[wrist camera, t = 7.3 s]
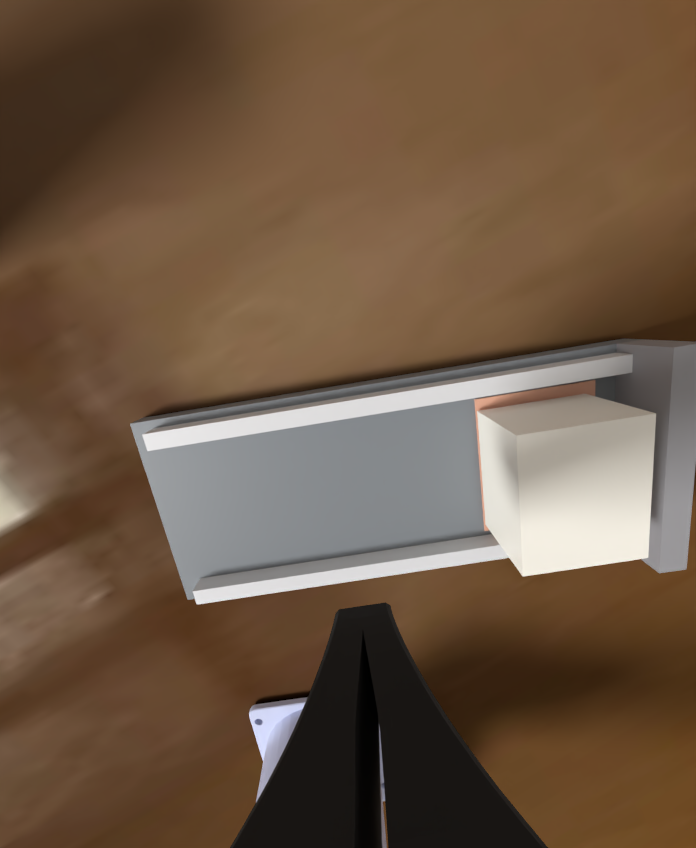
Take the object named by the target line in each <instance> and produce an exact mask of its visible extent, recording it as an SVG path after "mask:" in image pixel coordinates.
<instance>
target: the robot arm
mask: <svg viewBox="0 0 696 848" xmlns="http://www.w3.org/2000/svg"><path fill="white" fill-rule="evenodd" d="M249 717H250V720H251V724H252V727H253V730H254V733H255V737H256V740H257V743H258V746H259V750H260V753H261V756H262V759H263V766H262V772H261V777H260V783H259V788H258V794H257V799H256V804H255V806H254V807H253V809H252V811H251V813H250V814H249V816H248V818H247V820H246V822H245V823H244V825H243V827H242V829H241V830H240V832H239V834H238V835H237V837H236V839H235V840H234V842H233V844H232V845H231V847H230V848H387V847H386V835H385V823H384V812H383V801H385V803H386V818H387V832H388V846H389V848H548V847H547V846H546V845H545V844H544V843H543V841H542V840H541V839H540V838H539V837H538V835H537V834H536V833H535V832H534V830H533V829H532V828H531V827H530V826H529V824H528V823H527V822H526V821H525V820H524V818H523V817H522V816H521V815H520V813H519V812H518V811H517V810H516V809H515V807H514V806H513V805H512V804H511V803H510V801H509V800H508V799H507V798H506V796H505V795H504V794H503V793H502V792H501V790H500V789H499V788H498V786H497V785H496V784H495V782H494V781H493V780H492V778H491V777H490V776H489V774H488V773H487V772H486V771H485V769H484V768H483V767H482V765H481V764H480V763H479V761H478V760H477V759H476V757H475V756H474V754H473V753H472V752H471V750H470V749H469V747H468V746H467V745H466V743H465V742H464V740H463V739H462V738H461V736H460V735H459V733H458V732H457V730H456V729H455V727H454V726H453V725H452V723H451V722H450V720H449V719H448V717H447V716H446V714H445V712H444V711H443V709H442V708H441V706H440V705H439V703H438V701H437V700H436V698H435V697H434V695H433V694H432V692H431V690H430V689H429V687H428V685H427V684H426V682H425V680H424V678H423V677H422V675H421V673H420V671H419V669H418V668H417V666H416V664H415V662H414V660H413V659H412V657H411V655H410V653H409V651H408V649H407V647H406V645H405V643H404V641H403V639H402V637H401V634H400V632H399V630H398V627H397V625H396V623H395V620H394V617H393V614H392V611H391V606H390V605H388V604H387V603H380V604H373V605H366V606H360V607H353V608H346V609H339V610H338V612H337V613H336V614H335V619H334V623H333V627H332V631H331V634H330V638H329V641H328V644H327V647H326V650H325V653H324V656H323V659H322V662H321V664H320V667H319V670H318V672H317V675H316V678H315V680H314V683H313V686H312V688H311V691H310V693H309V696H308V697H304V698H297V699H290V700H283V701H276V702H269V703H262V704H256V705H253V706H252V707H251V709H250V713H249Z"/></svg>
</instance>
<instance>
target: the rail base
mask: <svg viewBox="0 0 696 848" xmlns="http://www.w3.org/2000/svg"><path fill="white" fill-rule="evenodd" d="M579 394H588V395H592V396H595V397H599V398H603V399H606V400H610V401H613V402H617V403H621V404H624V405H628V406H631V407H635V408H639V409H642V410H646V411H649V412H653V413H656V426H655V444H654V462H653V480H652V498H651V516H650V534H649V552H648V558H644V559H642V560H643V561H644V562H645V563H647V564H648V565H649V566H650V567H652V568H653V569H654V570H656V571H657V572H658V573H664V572H671V571H678V570H685V569H686V568H687V557H688V545H689V534H690V522H691V511H692V500H693V488H694V477H695V465H696V342H690V341H668V340H645V339H618V340H612V341H606V342H599V343H593V344H587V345H581V346H575V347H569V348H563V349H557V350H551V351H545V352H539V353H533V354H527V355H521V356H515V357H508V358H502V359H496V360H490V361H484V362H478V363H472V364H466V365H460V366H454V367H448V368H442V369H436V370H430V371H424V372H418V373H411V374H405V375H399V376H393V377H387V378H381V379H375V380H369V381H363V382H357V383H351V384H345V385H339V386H333V387H327V388H320V389H314V390H308V391H302V392H296V393H290V394H284V395H278V396H272V397H266V398H260V399H254V400H248V401H242V402H236V403H230V404H223V405H217V406H211V407H205V408H199V409H193V410H187V411H181V412H175V413H169V414H163V415H157V416H151V417H145V418H142V419H139V420H137V421H135V422H133V423H131V424H130V425H131V428H132V431H133V435H134V438H135V441H136V444H137V447H138V450H139V453H140V456H141V459H142V462H143V465H144V468H145V471H146V474H147V477H148V480H149V483H150V486H151V489H152V492H153V495H154V498H155V501H156V504H157V508H158V511H159V514H160V517H161V520H162V523H163V526H164V529H165V532H166V535H167V538H168V541H169V544H170V547H171V550H172V553H173V556H174V559H175V562H176V565H177V568H178V571H179V574H180V577H181V581H182V584H183V587H184V590H185V593H186V596H187V599H188V600H190V599H195V600H196V603H197V604H204V603H210V602H217V601H224V600H230V599H237V598H244V597H250V596H257V595H264V594H270V593H277V592H284V591H290V590H297V589H304V588H310V587H317V586H324V585H330V584H337V583H344V582H350V581H357V580H364V579H370V578H377V577H384V576H391V575H397V574H404V573H411V572H417V571H424V570H431V569H437V568H444V567H451V566H457V565H464V564H471V563H477V562H484V561H491V560H497V559H504V558H509V557H508V555H507V554H506V552H505V551H504V550H503V548H502V547H501V545H500V544H499V543H498V541H497V540H496V539H495V537H494V536H493V534H492V533H491V532H490V530H489V529H488V527H487V526H486V525H485V511H484V498H483V484H482V471H481V457H480V444H479V430H478V417H477V411H480V410H486V409H492V408H498V407H504V406H511V405H517V404H523V403H529V402H536V401H542V400H548V399H554V398H560V397H567V396H573V395H579Z"/></svg>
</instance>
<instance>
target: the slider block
mask: <svg viewBox="0 0 696 848" xmlns="http://www.w3.org/2000/svg"><path fill="white" fill-rule="evenodd" d="M477 417H478V430H479V444H480V457H481V471H482V484H483V498H484V511H485V525H486V526H487V527H488V529H489V530H490V532H491V533H492V534H493V536H494V537H495V539H496V540H497V541H498V543H499V544H500V545H501V547H502V548H503V550H504V551H505V552H506V554H507V555H508V557H509V558H510V559H511V561H512V562H513V564H514V565H515V566H516V568H517V569H518V570H519V572H520V573H521V575H522V576H529V575H536V574H543V573H550V572H556V571H563V570H570V569H577V568H583V567H590V566H597V565H604V564H610V563H617V562H624V561H631V560H637V559H644V558H648V552H649V534H650V516H651V498H652V480H653V462H654V444H655V426H656V413H653V412H649V411H646V410H642V409H639V408H635V407H631V406H628V405H624V404H621V403H617V402H613V401H610V400H606V399H603V398H599V397H595V396H592V395H588V394H579V395H573V396H567V397H560V398H554V399H548V400H542V401H536V402H529V403H523V404H517V405H511V406H504V407H498V408H492V409H486V410H480V411H477Z"/></svg>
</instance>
